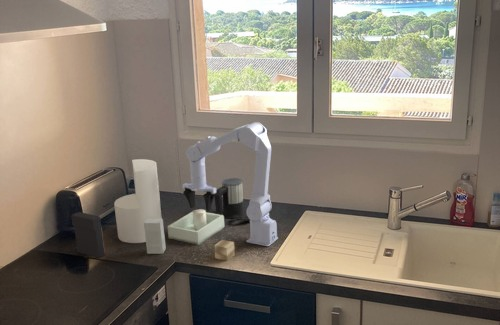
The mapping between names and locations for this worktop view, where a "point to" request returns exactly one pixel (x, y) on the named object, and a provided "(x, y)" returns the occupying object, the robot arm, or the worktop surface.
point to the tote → (187, 233)
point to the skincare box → (154, 236)
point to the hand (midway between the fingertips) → (200, 208)
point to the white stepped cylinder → (139, 203)
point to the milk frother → (230, 199)
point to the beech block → (224, 250)
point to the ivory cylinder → (199, 219)
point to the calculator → (88, 234)
